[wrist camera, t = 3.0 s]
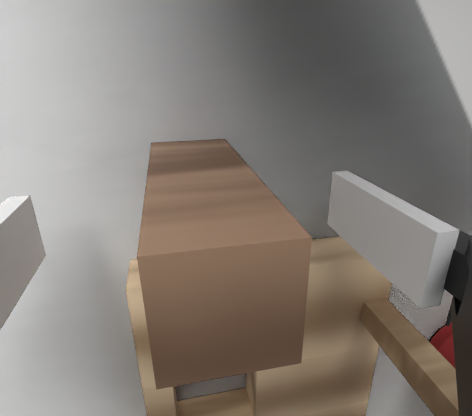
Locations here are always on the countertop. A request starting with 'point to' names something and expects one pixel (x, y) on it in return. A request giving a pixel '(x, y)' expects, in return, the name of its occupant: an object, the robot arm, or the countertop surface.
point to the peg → (218, 267)
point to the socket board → (318, 350)
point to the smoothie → (445, 343)
